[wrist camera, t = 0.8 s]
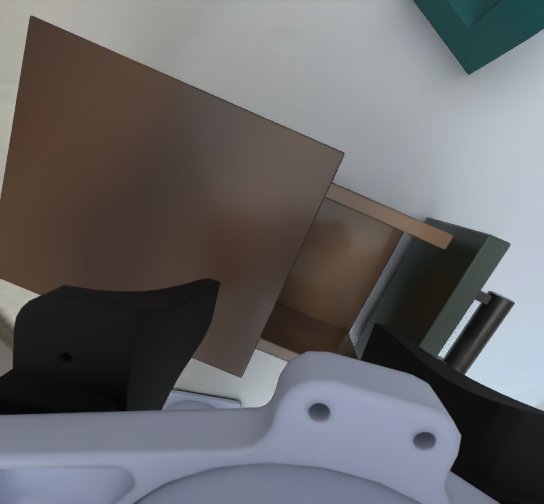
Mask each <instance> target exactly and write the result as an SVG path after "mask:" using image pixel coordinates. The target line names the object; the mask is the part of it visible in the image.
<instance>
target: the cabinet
mask: <svg viewBox="0 0 544 504" xmlns="http://www.w3.org/2000/svg"><path fill="white" fill-rule="evenodd" d="M344 154H345V153H344V152H342V151H339V150H337V149H335V148H332V147H330V146H328V145H326V144H323V143H321V142H319V141H316V140H314V139H312V138H310V137H307V136H305V135H303V134H301V133H298V132H296V131H294V130H291V129H289V128H287V127H285V126H282V125H280V124H278V123H275V122H273V121H271V120H269V119H266V118H264V117H262V116H260V115H257V114H255V113H253V112H250V111H248V110H246V109H244V108H241V107H239V106H237V105H234V104H232V103H230V102H228V101H225V100H223V99H221V98H219V97H216V96H214V95H212V94H209V93H207V92H205V91H203V90H200V89H198V88H196V87H193V86H191V85H189V84H187V83H184V82H182V81H180V80H178V79H175V78H173V77H171V76H168V75H166V74H164V73H162V72H159V71H157V70H155V69H152V68H150V67H148V66H146V65H143V64H141V63H139V62H137V61H134V60H132V59H130V58H127V57H125V56H123V55H121V54H118V53H116V52H114V51H111V50H109V49H107V48H105V47H102V46H100V45H98V44H96V43H93V42H91V41H89V40H86V39H84V38H82V37H80V36H77V35H75V34H73V33H70V32H68V31H66V30H64V29H61V28H59V27H57V26H55V25H52V24H50V23H48V22H45V21H43V20H41V19H39V18H36V17H34V16H30V20H29V26H28V32H27V38H26V45H25V51H24V57H23V63H22V69H21V75H20V82H19V88H18V94H17V100H16V106H15V112H14V119H13V125H12V131H11V137H10V143H9V150H8V156H7V162H6V168H5V174H4V180H3V187H2V193H1V199H0V279H3V280H5V281H7V282H10V283H12V284H15V285H17V286H20V287H22V288H24V289H27V290H29V291H32V292H34V293H37V294H39V295H43V294H45V293H48V292H50V291H52V290H54V289H56V288H58V287H61V286H63V285H69V286H75V287H81V288H88V289H96V290H106V291H148V290H157V289H164V288H169V287H173V286H178V285H182V284H186V283H189V282H193V281H196V280H200V279H204V278H210V279H213V280H217V281H221V283H220V287H219V292H218V296H217V301H216V305H215V310H214V314H213V318H212V322H211V324H210V327H209V329H208V331H207V333H206V335H205V337H204V339H203V341H202V342H201V344H200V345H199V347H198V348H197V350H196V351H195V353H194V354H193V356H192V358H194V359H197V360H199V361H201V362H204V363H206V364H209V365H211V366H214V367H216V368H218V369H221V370H223V371H226V372H228V373H231V374H233V375H235V376H238V377H240V378H241V377H242V376H243V374H244V372H245V370H246V367H247V365H248V363H249V361H250V359H251V357H252V354H253V352H254V350H255V348H256V346H257V344H258V341H259V339H260V337H261V335H262V333H263V330H264V328H265V326H266V324H267V322H268V320H269V317H270V315H271V313H272V311H273V309H274V307H275V304H276V302H277V300H278V298H279V296H280V294H281V291H282V289H283V287H284V285H285V283H286V281H287V278H288V276H289V274H290V272H291V270H292V268H293V265H294V263H295V261H296V259H297V257H298V255H299V252H300V250H301V248H302V246H303V244H304V242H305V239H306V237H307V235H308V233H309V231H310V229H311V226H312V224H313V222H314V220H315V218H316V216H317V213H318V211H319V209H320V207H321V205H322V203H323V200H324V198H325V196H326V194H327V192H328V190H329V187H330V185H331V183H332V181H333V179H334V176H335V174H336V172H337V170H338V168H339V166H340V163H341V161H342V159H343V157H344Z"/></svg>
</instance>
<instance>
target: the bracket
mask: <svg viewBox="0 0 544 504" xmlns="http://www.w3.org/2000/svg"><path fill="white" fill-rule="evenodd" d="M414 1H415V3H416V4H417V5H418V7H419V8H420V9H421V11H422V12H423V13H424V15H425V16H426V17H427V19H428V20H429V22H430V23H431V24H432V26H433V27H434V28H435V30H436V31H437V32H438V34H439V35H440V37H441V38H442V39H443V41H444V42H445V43H446V45H447V46H448V47H449V49H450V50H451V52H452V53H453V54H454V56H455V57H456V58H457V60H458V61H459V62H460V64H461V65H462V66H463V68H464V69H465V71H466V72H467V73H468V75H469V74H471V73H473V72H474V71H476V70H478V69H479V68H481V67H483V66H484V65H486V64H488V63H489V62H491V61H493V60H494V59H496V58H498V57H499V56H501V55H503V54H504V53H506V52H508V51H509V50H511V49H513V48H514V47H516V46H518V45H519V44H521V43H523V42H524V41H526V40H527V39H529V38H530V37H532V36H534V35H535V34H537V33H538V32H540V31H541V30H543V29H544V0H414Z"/></svg>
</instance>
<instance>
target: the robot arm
mask: <svg viewBox="0 0 544 504" xmlns="http://www.w3.org/2000/svg"><path fill="white" fill-rule="evenodd" d="M220 283H221V281H217V280H213V279H210V278H204V279H200V280H196V281H193V282H189V283H186V284H182V285H178V286H173V287H169V288H164V289H157V290H148V291H106V290H96V289H88V288H81V287H75V286H69V285H63V286H61V287H58V288H56V289H54V290H52V291H50V292H48V293H45V294H43V295H41V296H39V297H37V298H35V299H32V300H30V301H29V302H28V303H27V304H25V305H24V306H23V307H22V308H21V310H20V312H19V313H18V315H17V317H16V321H15V326H14V346H13V369H12V370H10V371H9V372H7V373H6V374H4V375H3V376H1V377H0V504H544V411H542V410H539V409H536V408H534V407H532V406H529V405H527V404H524V403H522V402H519V401H517V400H514V399H512V398H510V397H508V396H505V395H503V394H501V393H499V392H497V391H494V390H492V389H490V388H488V387H486V386H484V385H482V384H480V383H478V382H476V381H474V380H472V379H470V378H469V377H467V376H465V375H463V374H462V373H460V372H458V371H456V370H454V369H453V368H451V367H449V366H448V365H446V364H445V363H443V362H442V361H440V360H438V359H437V358H435V357H434V356H432V355H431V354H429V353H428V352H426V351H425V350H424V349H422V348H421V347H419V346H418V345H416V344H415V343H414V342H412V341H411V340H409V339H408V338H406V337H405V336H404V335H402V334H401V333H399V332H398V331H396V330H394V329H392V328H391V327H388V326H385V325H381V324H377V323H374V326H373V329H372V331H371V334H370V336H369V339H368V342H367V344H366V347H365V349H364V352H363V355H362V357H361V360H356V359H353V358H349V357H345V356H341V355H338V354H334V353H330V352H315V351H307V352H305V353H303V354H301V355H299V356H297V357H295V358H293V359H290V361H289V362H288V364H287V365H286V367H285V368H284V370H283V371H282V372H281V374H280V377H279V380H278V383H277V387H276V390H275V393H274V395H273V397H272V399H271V400H270V401H269V403H268V404H266V405H264V406H262V407H257V408H242V404H241V403H240V402H239V401H235V400H229V399H224V398H218V397H212V396H206V395H200V394H195V393H189V392H183V391H177V390H172V389H173V387H174V385H175V383H176V381H177V379H178V377H179V376H180V374H181V373H182V371H183V369H184V368H185V366H186V365H187V363H188V362H189V360H190V359H191V357H192V356H193V354H194V353H195V351H196V350H197V348H198V347H199V345H200V344H201V342H202V341H203V339H204V337H205V335H206V333H207V331H208V329H209V327H210V324H211V322H212V318H213V314H214V310H215V305H216V301H217V296H218V292H219V287H220Z"/></svg>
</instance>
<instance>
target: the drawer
mask: <svg viewBox="0 0 544 504" xmlns="http://www.w3.org/2000/svg"><path fill="white" fill-rule="evenodd" d="M404 232H405V233H407V234H410V235H412V236H414V237H416V238H415V240H414V241H413V243H412V245H411V247H410V248H409V250H408V252H407V254H406V255H405V257H404V259H403V261H402V263H401V264H400V266H399V268H398V270H397V271H396V273H395V275H394V277H393V278H392V280H391V282H390V284H389V285H388V287H387V289H386V291H385V293H384V294H383V296H382V298H381V300H380V301H379V303H378V305H377V307H376V308H375V310H374V312H373V314H372V316H371V317H370V319H369V321H368V323H367V324H366V326H365V328H364V330H363V331H362V333H361V335H360V337H359V339H358V340H357V342H356V344H355V346H353V344H352V341H351V338H350V335H349V331H350V329H351V327H352V326H353V324H354V322H355V320H356V318H357V317H358V315H359V313H360V311H361V309H362V308H363V306H364V304H365V302H366V300H367V298H368V297H369V295H370V293H371V291H372V289H373V288H374V286H375V284H376V282H377V280H378V279H379V277H380V275H381V273H382V271H383V269H384V268H385V266H386V264H387V262H388V260H389V259H390V257H391V255H392V253H393V251H394V250H395V248H396V246H397V244H398V242H399V240H400V239H401V237H402V235H403V233H404ZM509 247H510V243H508V242H506V241H504V240H502V239H499V238H497V237H495V236H492V235H490V234H486V233H483V232H479V231H476V230H472V229H468V228H465V227H461V226H458V225H454V224H450V223H447V222H443V221H440V220H436V219H432V218H429V217H427V218H426V220H425V222H422V221H419V220H417V219H415V218H413V217H410V216H408V215H406V214H403V213H401V212H399V211H396V210H394V209H392V208H390V207H387V206H385V205H383V204H380V203H378V202H376V201H374V200H371V199H369V198H367V197H364V196H362V195H360V194H357V193H355V192H353V191H351V190H348V189H346V188H344V187H341V186H339V185H337V184H334V183H331V185H330V187H329V190H328V192H327V194H326V196H325V198H324V200H323V203H322V205H321V207H320V209H319V211H318V213H317V216H316V218H315V220H314V222H313V224H312V226H311V229H310V231H309V233H308V235H307V237H306V239H305V242H304V244H303V246H302V248H301V250H300V252H299V255H298V257H297V259H296V261H295V263H294V265H293V268H292V270H291V272H290V274H289V276H288V278H287V281H286V283H285V285H284V287H283V289H282V291H281V294H280V296H279V298H278V300H277V302H276V304H275V307H274V309H273V311H272V313H271V315H270V317H269V320H268V322H267V324H266V326H265V328H264V330H263V333H262V335H261V337H260V339H259V341H258V344H257V346H256V349H258V350H261V351H263V352H266V353H268V354H270V355H273V356H275V357H278V358H280V359H282V360H285V361H287V362H289V361H290V359H293V358H295V357H297V356H299V355H301V354H303V353H305V352H307V351H315V352H330V353H334V354H338V355H341V356H345V357H349V358H353V359H356V360H361V357H362V355H363V352H364V349H365V347H366V344H367V342H368V339H369V336H370V334H371V331H372V329H373V326H374V323H377V324H381V325H385V326H388V327H391V328H392V329H394V330H396V331H398V332H399V333H401V334H402V335H404V336H405V337H406V338H408V339H409V340H411V341H412V342H414V343H415V344H416V345H418V346H419V347H421V348H422V349H424V350H425V351H426V352H428V353H429V354H431V355H432V356H434V357H435V358H437V359H438V360H440V361H442V362H443V363H445V364H446V365H448V366H449V367H451V368H453V369H454V370H456V371H458V372H460V373H462V374H463V375H465V374H466V372H467V371H468V369H469V368H470V367H471V365H472V364H473V362H474V361H475V360H476V358H477V357H478V355H479V354H480V352H481V351H482V350H483V348H484V347H485V345H486V344H487V342H488V341H489V340H490V338H491V337H492V335H493V334H494V333H495V331H496V330H497V328H498V327H499V325H500V324H501V323H502V321H503V320H504V318H505V317H506V316H507V314H508V313H509V311H510V310H511V308H512V307H513V306H514V304H515V303H514V302H513V301H512V300H510V299H508V298H506V297H504V296H502V295H500V294H498V293H495V292H493V291H488V293H486V292H483V291H481V289H482V287H483V286H484V284H485V283H486V281H487V280H488V278H489V277H490V275H491V274H492V272H493V271H494V269H495V268H496V266H497V265H498V263H499V262H500V260H501V259H502V257H503V256H504V254H505V253H506V251H507V250H508V248H509ZM474 299H475V300H477V301H479V302H481V303H480V305H479V306H478V308H477V309H476V311H475V312H474V314H473V315H472V317H471V318H470V320H469V321H468V323H467V324H466V326H465V327H464V328H463V330H462V331H461V333H460V334H459V336H458V337H457V339H456V340H455V342H454V343H453V345H452V346H451V348H450V349H449V351H448V352H447V354H446V355H445V357H444V358H442V357H440V356H437V355H438V354H439V352H440V351H441V349H442V348H443V346H444V345H445V343H446V342H447V340H448V339H449V337H450V336H451V334H452V333H453V331H454V330H455V328H456V327H457V325H458V324H459V322H460V321H461V319H462V318H463V316H464V315H465V313H466V312H467V310H468V309H469V307H470V306H471V304H472V303H473V301H474Z"/></svg>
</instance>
